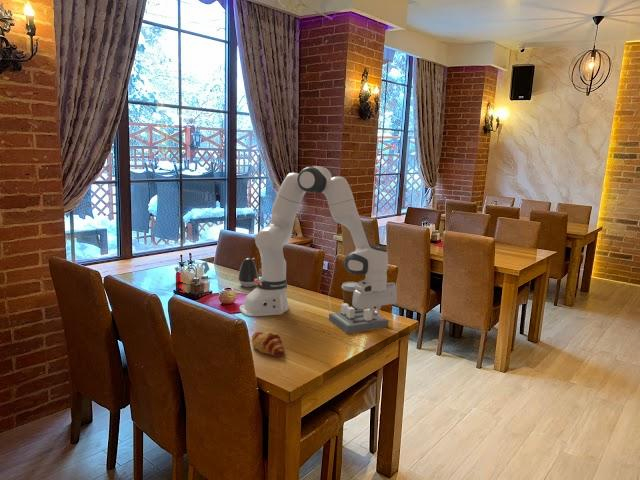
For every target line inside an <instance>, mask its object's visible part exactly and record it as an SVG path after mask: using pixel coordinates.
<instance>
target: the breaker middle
mask: <svg viewBox="0 0 640 480" xmlns="http://www.w3.org/2000/svg"><path fill="white" fill-rule="evenodd" d="M346 316H347V317H348V318H349V319H350V318H354V317H355V309H354V308H353V307H347V311H346Z"/></svg>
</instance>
